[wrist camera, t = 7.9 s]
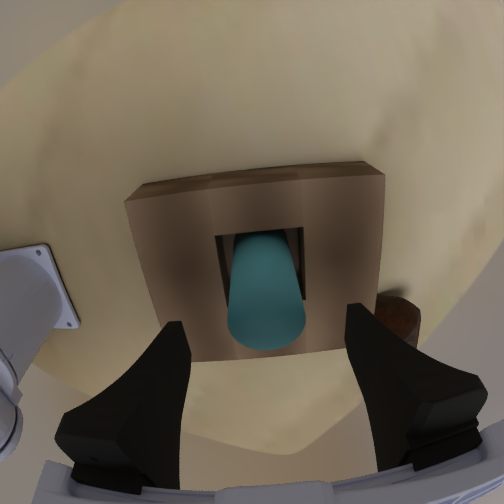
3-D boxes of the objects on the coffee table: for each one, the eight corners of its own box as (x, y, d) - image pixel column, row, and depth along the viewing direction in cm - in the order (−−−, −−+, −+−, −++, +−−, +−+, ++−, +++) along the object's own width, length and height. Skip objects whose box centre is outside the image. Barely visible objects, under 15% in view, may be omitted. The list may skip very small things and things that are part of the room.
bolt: (380, 390, 31) (359, 292, 24) (423, 393, 28) (421, 291, 21) (365, 436, 27) (339, 350, 20) (412, 441, 24) (412, 354, 18)
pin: (241, 269, 22) (238, 355, 15) (228, 223, 20) (217, 298, 13) (291, 259, 21) (310, 342, 14) (281, 212, 20) (300, 282, 13)
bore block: (181, 331, 25) (173, 362, 22) (143, 184, 19) (124, 201, 16) (356, 314, 24) (369, 344, 21) (363, 161, 19) (385, 174, 16)
